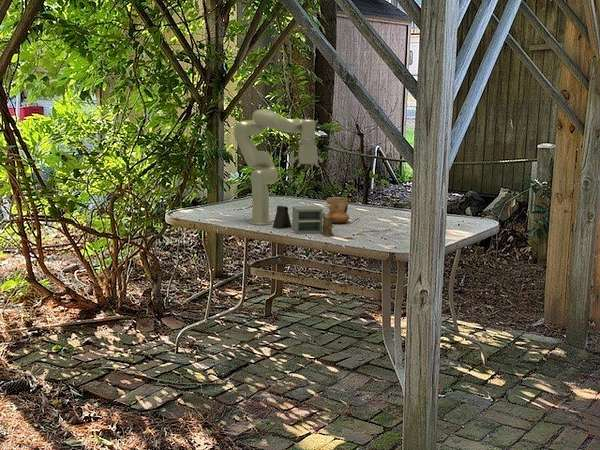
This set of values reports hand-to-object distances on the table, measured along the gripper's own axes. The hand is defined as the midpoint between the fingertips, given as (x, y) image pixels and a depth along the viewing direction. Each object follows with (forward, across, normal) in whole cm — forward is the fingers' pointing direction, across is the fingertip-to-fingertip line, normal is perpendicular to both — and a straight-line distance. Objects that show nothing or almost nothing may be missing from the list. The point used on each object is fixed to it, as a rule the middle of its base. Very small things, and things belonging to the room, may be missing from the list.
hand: (307, 174), depth 413 cm
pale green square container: (+30, +1, -11) cm, 32 cm away
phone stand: (+31, -12, +9) cm, 34 cm away
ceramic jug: (+31, +23, +23) cm, 45 cm away
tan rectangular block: (+30, +7, -18) cm, 36 cm away
